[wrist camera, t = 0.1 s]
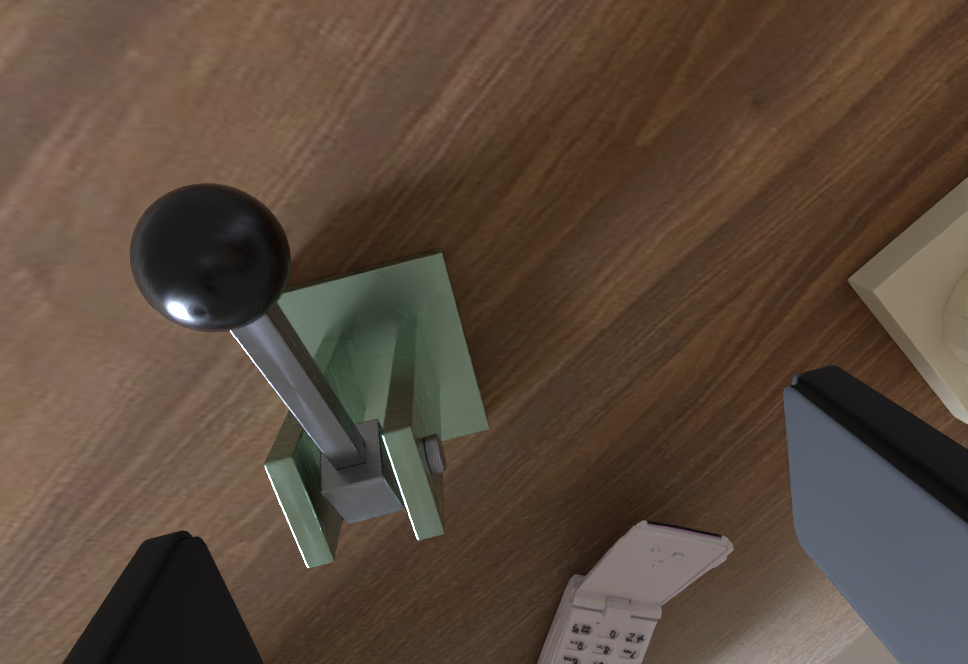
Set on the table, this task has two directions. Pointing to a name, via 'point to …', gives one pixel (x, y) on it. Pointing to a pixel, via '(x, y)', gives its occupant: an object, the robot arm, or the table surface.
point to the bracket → (380, 388)
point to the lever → (257, 325)
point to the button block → (927, 296)
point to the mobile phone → (628, 594)
